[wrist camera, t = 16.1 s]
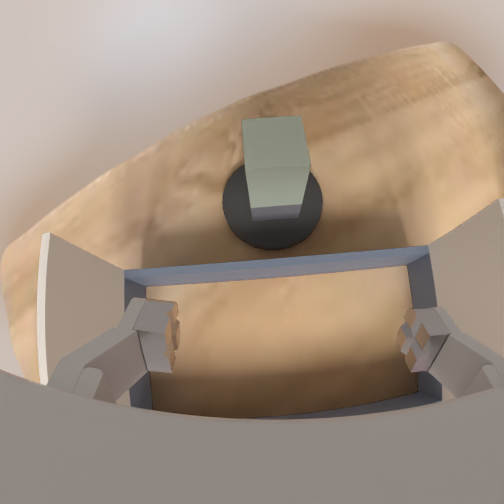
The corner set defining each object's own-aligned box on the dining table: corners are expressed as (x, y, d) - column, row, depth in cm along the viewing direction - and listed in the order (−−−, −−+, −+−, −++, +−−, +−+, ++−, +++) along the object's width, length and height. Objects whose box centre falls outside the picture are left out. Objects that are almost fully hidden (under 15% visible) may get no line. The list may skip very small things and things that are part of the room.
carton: (139, 280, 27) (42, 233, 13) (411, 258, 26) (504, 198, 12) (148, 421, 23) (58, 478, 10) (423, 396, 23) (524, 428, 9)
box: (249, 180, 28) (241, 119, 19) (292, 177, 28) (301, 115, 19) (252, 221, 27) (245, 169, 18) (298, 217, 27) (310, 165, 18)
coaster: (267, 145, 30) (267, 140, 29) (340, 199, 28) (341, 195, 27) (203, 207, 28) (202, 203, 28) (277, 270, 26) (278, 268, 26)
